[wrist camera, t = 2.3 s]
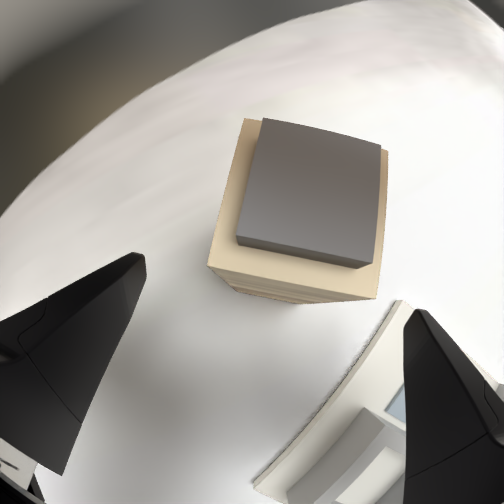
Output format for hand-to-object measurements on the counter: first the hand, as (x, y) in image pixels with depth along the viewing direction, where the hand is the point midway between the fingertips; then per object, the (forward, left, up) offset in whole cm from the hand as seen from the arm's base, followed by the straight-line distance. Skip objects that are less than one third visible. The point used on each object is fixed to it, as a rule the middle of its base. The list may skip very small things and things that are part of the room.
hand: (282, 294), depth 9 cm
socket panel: (-3, -18, -9) cm, 21 cm away
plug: (+2, +1, -9) cm, 10 cm away
